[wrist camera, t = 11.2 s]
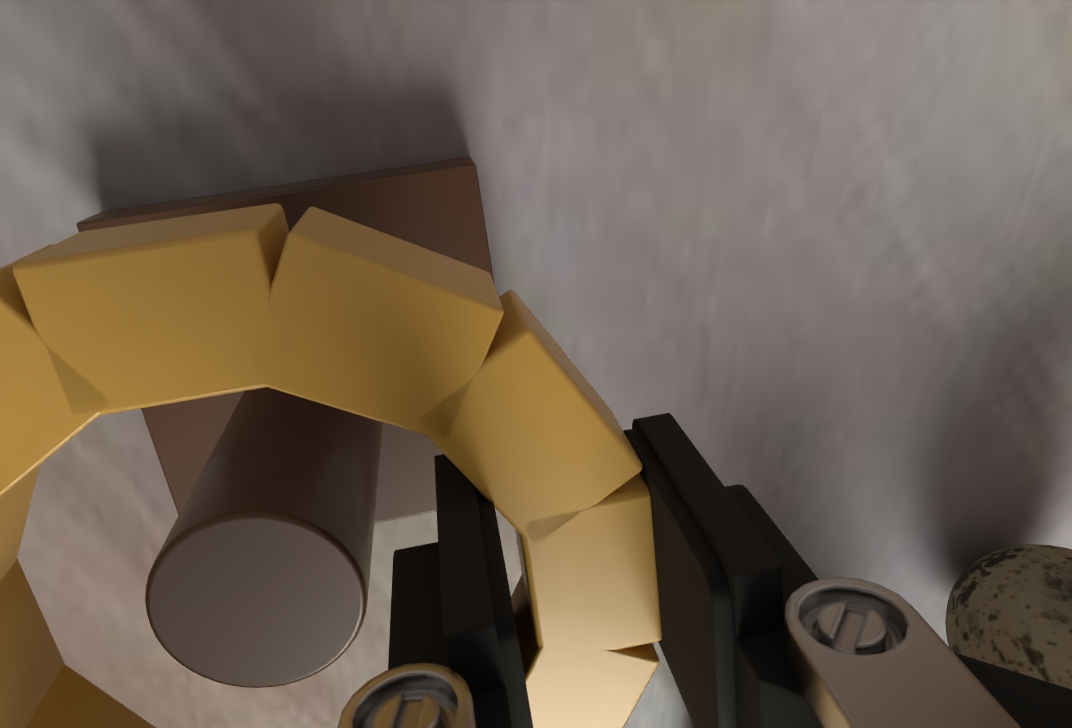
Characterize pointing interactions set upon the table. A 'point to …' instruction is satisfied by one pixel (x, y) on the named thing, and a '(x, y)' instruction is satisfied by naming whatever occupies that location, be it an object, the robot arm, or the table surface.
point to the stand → (292, 462)
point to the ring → (341, 382)
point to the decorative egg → (1016, 611)
